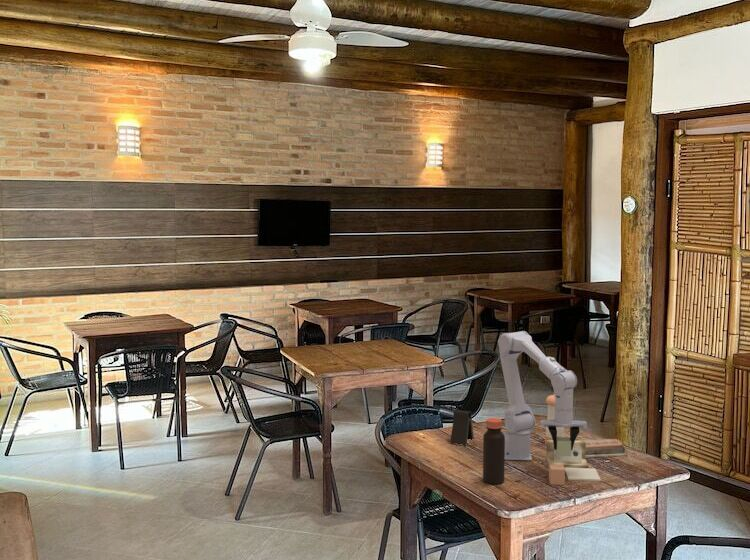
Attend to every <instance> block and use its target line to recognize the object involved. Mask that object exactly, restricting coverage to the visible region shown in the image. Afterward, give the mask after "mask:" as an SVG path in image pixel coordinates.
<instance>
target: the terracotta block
mask: <svg viewBox="0 0 750 560" xmlns="http://www.w3.org/2000/svg"><path fill="white" fill-rule="evenodd" d="M548 481H549V484H550V485H554V486H555V485H558V486H565V485H566V483H565V482H566V472H565V468H564V466H563V465H549V467H548Z"/></svg>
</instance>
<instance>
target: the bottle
mask: <svg viewBox="0 0 750 560" xmlns="http://www.w3.org/2000/svg"><path fill="white" fill-rule="evenodd" d="M485 425H486V429H487V430H486V432H484V434H483V435H482V437H483V439H482V440H483V441H482V444H483V445H482V449H483V452H482V454H483V456H482V481H483V482H485V483H486V484H489V485H500V484H503V483H504V482H505V465H506V463H505V461H506V460H505V436H504V432H502V429H503V420H502V419H501V418H497V417H496V418H495V417H491V418H487V419H486V424H485Z"/></svg>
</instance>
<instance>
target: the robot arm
mask: <svg viewBox="0 0 750 560" xmlns="http://www.w3.org/2000/svg"><path fill="white" fill-rule="evenodd" d="M497 345H498V350H499V351H498V352H499V357H500V363H501V368H502V369H501V370H502V374H503V379H504V384H505V389H506V395H507V400H508V406H507V409H506V410H505V411H504V427H505V429H506V431H503V434H504V436H505V461H506V460H510V461H533V457H532V454H531V433H532V432H533V429H534V428H535V426H536V418H535V415H534V414H533V412H532V408H531V406H529V405H527V404H526V402H525V398H524V392H523V386H522V382H521V378H520V377H521V376H520V371H519V365H518V361H517V359H518V357H519V356H520V355H521V354H522V353H525V354H527V356H528V357H530V358H531V359H533V361H535V362H536V363H537V364H538V369H539V370H540V372H542V373H543V374H544V375H545V376H546V377H547V378H548V379H549V380H550V382H551V386H552V389H553V395H554V394H555V419H553V420H547V419H541V420H540V427H541V428H546V427H548V429H549V431H550V433H551V436H552V439H553V444H554V449H555V450H557V430H556V427H564V428H569V438H570V440H571V450H573V445H574V442H575V440H577V437H578V435H579V433H580V429H585V430H586V429H587V428H588V425H587V424H588V423H587V421H585V420H575V419H574V416H573V414H574V413H573V412H574V388H576V387H577V385H578V378H577V375H576V374H575V372H574V371H573V370H570V369H569V370H567V368H565V367H564V366H562V365H561V364H560V363H559V362H557V360H556V358H555V357H552V356H546V355H545V354H544V353H543V352H542V351H541V349H540V348H539V347H538V346H537V345H536V344H535V343H534V341H533V337H532V336H531V335H530V334H529V333H528V332H527V331H525V330H521V331H516V332H506V333H505V332H503V333H501V335H500V336H499V338H498V340H497ZM573 419H574V420H573Z"/></svg>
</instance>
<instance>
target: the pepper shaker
mask: <svg viewBox="0 0 750 560" xmlns="http://www.w3.org/2000/svg"><path fill="white" fill-rule="evenodd" d="M545 403H546V404H547V417H546V420H553V419H555V394H554V393H553V394H551V395H548V396H547V397H546V399H545ZM556 430H557V437H566V435H565V427H556ZM547 440H553V439H552V436H551V433H550V431H549V429H548V427H545V434H544V445H545V446H546V442H547Z"/></svg>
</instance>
